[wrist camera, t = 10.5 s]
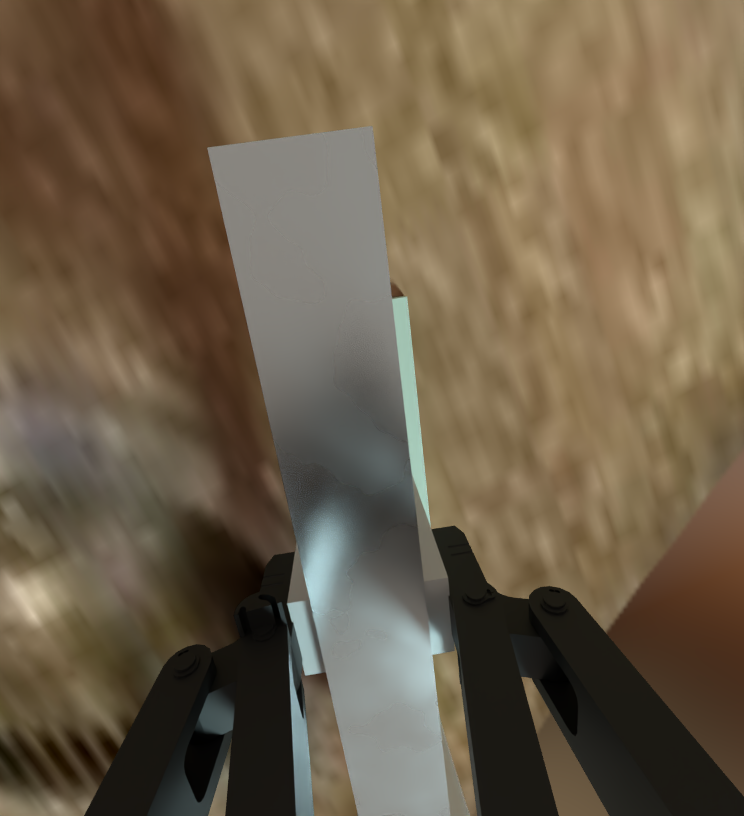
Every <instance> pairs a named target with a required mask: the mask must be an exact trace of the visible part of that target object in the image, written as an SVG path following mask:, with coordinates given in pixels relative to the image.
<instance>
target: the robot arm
mask: <svg viewBox="0 0 744 816" xmlns="http://www.w3.org/2000/svg"><path fill="white" fill-rule="evenodd" d="M412 480H413V489H414V498H415V507H416V516H417V525H418V534H419V542H420V551H421V560H422V569H423V578H424V587H425V595H426V604H427V613H428V622H429V631H430V640H431V649H432V655H433V654H439V653H445V652H451V651H455V648H454V643H455V646H456V649H457V654H458V665H459V677H460V684H461V689H462V697H463V705H464V713H465V721H466V729H467V737H468V745H469V753H470V761H471V769H472V777H473V785H474V793H475V801H476V809H477V816H559V815H558V811H557V808H556V804H555V800H554V796H553V793H552V789H551V785H550V782H549V778H548V774H547V771H546V767H545V763H544V760H543V756H542V752H541V749H540V745H539V741H538V737H537V734H536V730H535V726H534V723H533V719H532V715H531V712H530V708H529V704H528V701H527V697H526V693H525V690H524V686H523V682H522V678H521V677H528V678H532V680H533V682H534V684H535V685H536V687H537V689H538V691H539V693H540V694H541V696H542V698H543V700H544V701H545V703H546V705H547V707H548V708H549V710H550V712H551V714H552V715H553V717H554V719H555V721H556V722H557V724H558V726H559V728H560V729H561V731H562V733H563V735H564V736H565V738H566V740H567V742H568V744H569V745H570V747H571V749H572V751H573V752H574V754H575V756H576V758H577V759H578V761H579V763H580V764H581V766H582V768H583V770H584V772H585V773H586V775H587V777H588V779H589V780H590V782H591V784H592V786H593V788H594V789H595V791H596V793H597V795H598V796H599V798H600V800H601V802H602V803H603V805H604V807H605V809H606V810H607V812H608V814H609V815H610V816H744V796H743V795H742V794H741V793H740V792H739V791H738V789H737V788H736V787H735V786H734V784H733V783H732V782H731V781H730V780H729V779H728V778H727V776H726V775H725V774H724V773H723V771H722V770H721V769H720V768H719V767H718V766H717V764H716V763H715V762H714V761H713V760H712V758H711V757H710V756H709V755H708V754H707V752H706V751H705V750H704V749H703V748H702V747H701V745H700V744H699V743H698V742H697V741H696V739H695V738H694V737H693V736H692V735H691V734H690V732H689V731H688V730H687V729H686V728H685V727H684V725H683V724H682V723H681V722H680V721H679V719H678V718H677V717H676V716H675V715H674V713H673V712H672V711H671V710H670V709H669V708H668V706H667V705H666V704H665V703H664V702H663V701H662V699H661V698H660V697H659V696H658V695H657V694H656V692H655V691H654V690H653V689H652V687H651V686H650V685H649V684H648V683H647V681H646V680H645V679H644V678H643V677H642V676H641V674H640V673H639V672H638V671H637V670H636V668H635V667H634V666H633V665H632V664H631V663H630V661H629V660H628V659H627V658H626V657H625V655H624V654H623V653H622V652H621V651H620V650H619V648H618V647H617V646H616V645H615V644H614V642H613V641H612V640H611V639H610V638H609V636H608V635H607V634H606V633H605V632H604V631H603V629H602V628H601V627H600V626H599V625H598V623H597V622H596V621H595V620H594V619H593V617H592V616H591V615H590V614H589V613H588V612H587V610H586V609H585V608H584V607H583V606H582V604H581V603H580V602H579V601H578V600H577V599H576V598H575V597H574V596H573V595H572V594H571V593H569V592H567V591H565V590H563V589H561V588H557V587H552V586H548V587H540V588H538V589H536V590H534V591H533V592H532V593H531V594H530V595H529V599H522V598H513V597H508V596H505V595H502V594H500V593H498V592H497V591H496V589H495V588H494V587H492V586H491V585H490V584H488V583H487V581H486V579H485V577H484V575H483V573H482V571H481V568H480V566H479V564H478V562H477V560H476V558H475V556H474V553H473V552H472V549H471V547H470V545H469V543H468V541H467V538H466V536H465V534H464V533H463V532H462V531H461V530H459V529H458V528H457V527H456V526H450V527H443V528H437V529H431V527H430V524H429V521H428V518H427V516H426V513H425V510H424V507H423V504H422V501H421V498H420V496H419V493H418V490H417V487H416V484H415V481H414V478H413V475H412ZM234 618H235V621H236V625H237V628H238V631H239V635H240V639H238V640H237V641H235V642H234V643H232V644H230V645H228V646H226V647H224V648H221V649H219V650H217V651H215V652H212V653H211V651H210V649H209V648H208V647H206V646H205V645H197V644H196V645H192V646H188V647H186V648H184V649H182V650H180V651H178V652H177V653H175V654H174V655H173V656H172V657H171V658H170V659H169V660H168V661H167V662H166V664H165V665H164V666H163V668H162V670H161V672H160V674H159V675H158V677H157V679H156V681H155V683H154V685H153V687H152V689H151V691H150V692H149V694H148V696H147V698H146V700H145V702H144V704H143V706H142V708H141V709H140V711H139V713H138V715H137V717H136V719H135V721H134V723H133V724H132V726H131V728H130V730H129V732H128V734H127V736H126V738H125V740H124V741H123V743H122V745H121V747H120V749H119V751H118V753H117V755H116V757H115V758H114V760H113V762H112V764H111V766H110V768H109V770H108V772H107V774H106V775H105V777H104V779H103V781H102V783H101V785H100V787H99V789H98V791H97V792H96V794H95V796H94V798H93V800H92V802H91V804H90V806H89V808H88V809H87V811H86V813H85V815H84V816H208V814H209V811H210V807H211V804H212V801H213V798H214V794H215V791H216V788H217V784H218V781H219V778H220V775H221V771H222V768H223V765H224V762H225V758H226V755H227V752H228V749H229V745H230V742H231V739H232V744H231V756H230V768H229V779H228V791H227V803H226V815H225V816H314V809H313V796H312V784H311V771H310V759H309V746H308V733H307V721H306V708H305V696H304V688H303V684H302V680H301V672H302V665H303V669H304V673H305V676H306V675H312V674H318V673H324V672H326V670H325V666H324V661H323V657H322V652H321V648H320V643H319V639H318V635H317V630H316V626H315V621H314V617H313V613H312V608H311V604H310V599H309V595H308V590H307V586H306V582H305V577H304V573H303V568H302V564H301V560H300V555H299V551H298V546H297V543H296V549H295V552H291V553H285V554H279V555H274V556H273V557H272V559H271V560H270V561H269V563H268V564H267V565H266V568H265V572H264V576H263V580H262V584H261V588H260V592H257V593H255V594H252V595H250V596H248V597H247V598H246V599H244V600H243V601H242V602H241V603H240V604H239V605H238V606H237V608H236V610H235V613H234Z"/></svg>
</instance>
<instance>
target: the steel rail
mask: <svg viewBox="0 0 744 816" xmlns="http://www.w3.org/2000/svg"><path fill="white" fill-rule="evenodd" d="M207 149H208V153H209V157H210V162H211V166H212V171H213V175H214V179H215V184H216V188H217V193H218V197H219V202H220V206H221V210H222V215H223V219H224V224H225V228H226V233H227V237H228V241H229V246H230V250H231V255H232V259H233V263H234V268H235V272H236V277H237V281H238V286H239V290H240V294H241V299H242V303H243V308H244V312H245V316H246V321H247V325H248V330H249V334H250V339H251V343H252V347H253V352H254V356H255V361H256V365H257V369H258V374H259V378H260V383H261V387H262V392H263V396H264V400H265V405H266V409H267V414H268V418H269V423H270V427H271V431H272V436H273V440H274V445H275V449H276V453H277V458H278V462H279V467H280V471H281V476H282V480H283V484H284V489H285V493H286V498H287V502H288V506H289V511H290V515H291V520H292V524H293V529H294V533H295V537H296V542H297V546H298V551H299V555H300V560H301V564H302V568H303V573H304V577H305V582H306V586H307V590H308V595H309V599H310V604H311V608H312V613H313V617H314V621H315V626H316V630H317V635H318V639H319V643H320V648H321V652H322V657H323V661H324V666H325V670H326V674H327V679H328V683H329V688H330V692H331V696H332V701H333V705H334V710H335V714H336V719H337V723H338V727H339V732H340V736H341V741H342V745H343V750H344V754H345V758H346V763H347V767H348V772H349V776H350V780H351V785H352V789H353V794H354V798H355V803H356V807H357V811H358V816H450V808H449V799H448V790H447V781H446V772H445V764H444V755H443V746H442V737H441V728H440V719H439V710H438V702H437V693H436V684H435V675H434V666H433V657H432V649H431V640H430V631H429V622H428V613H427V604H426V595H425V587H424V578H423V569H422V560H421V551H420V542H419V534H418V525H417V516H416V507H415V498H414V489H413V480H412V472H411V463H410V454H409V445H408V436H407V427H406V418H405V410H404V401H403V392H402V383H401V374H400V365H399V357H398V348H397V339H396V330H395V321H394V312H393V303H392V295H391V286H390V277H389V268H388V259H387V250H386V241H385V233H384V224H383V215H382V206H381V197H380V188H379V180H378V171H377V162H376V153H375V144H374V135H373V126H369V127H361V128H353V129H346V130H338V131H331V132H323V133H315V134H308V135H300V136H292V137H285V138H277V139H269V140H262V141H254V142H247V143H239V144H231V145H224V146H216V147H208V148H207Z"/></svg>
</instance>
